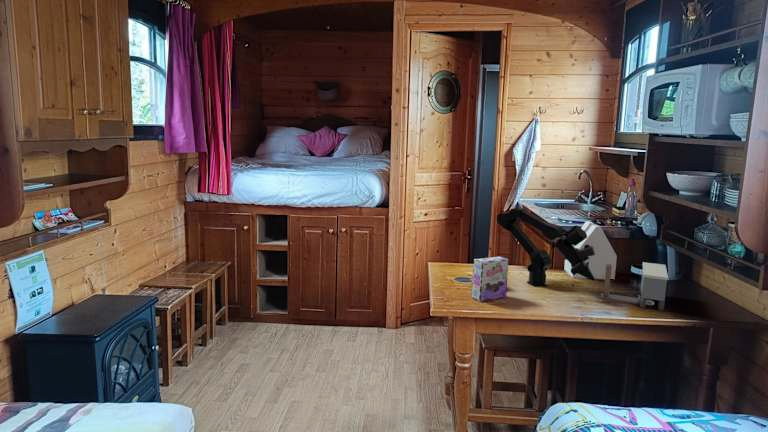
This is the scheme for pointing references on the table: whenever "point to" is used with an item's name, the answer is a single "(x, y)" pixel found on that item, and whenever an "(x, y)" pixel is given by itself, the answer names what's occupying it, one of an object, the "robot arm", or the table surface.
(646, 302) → the steel token
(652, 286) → the cabinet
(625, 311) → the table surface
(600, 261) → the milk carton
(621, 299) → the sweeper
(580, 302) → the table surface
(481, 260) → the candy box
